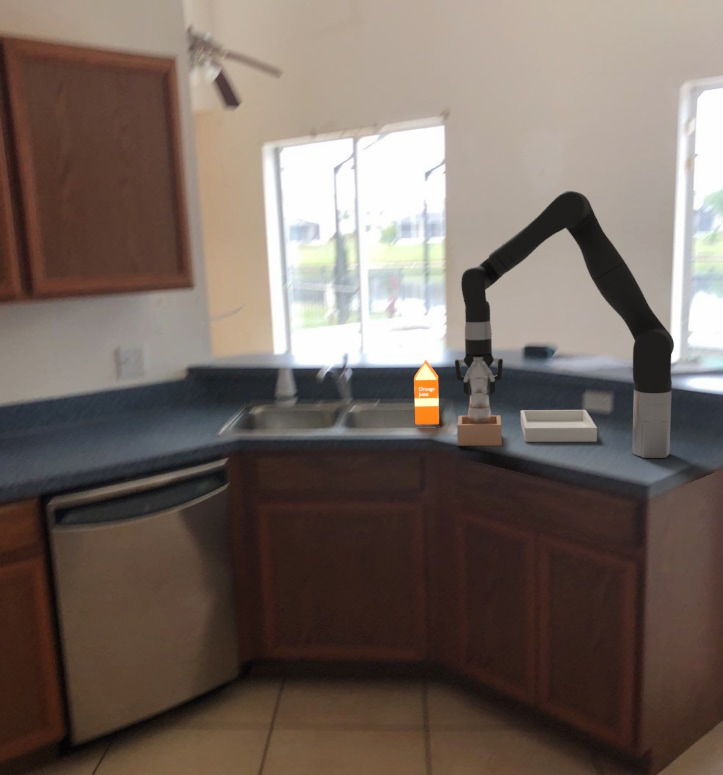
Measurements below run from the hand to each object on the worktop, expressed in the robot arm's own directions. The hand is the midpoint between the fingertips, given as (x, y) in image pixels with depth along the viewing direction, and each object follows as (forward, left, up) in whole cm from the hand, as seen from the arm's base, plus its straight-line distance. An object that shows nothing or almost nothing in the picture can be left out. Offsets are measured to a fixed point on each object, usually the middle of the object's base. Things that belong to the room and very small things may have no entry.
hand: (479, 394), depth 223 cm
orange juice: (+25, +17, -14) cm, 33 cm away
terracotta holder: (0, 0, -14) cm, 14 cm away
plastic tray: (+10, -23, -14) cm, 28 cm away
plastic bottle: (0, 0, -9) cm, 9 cm away
